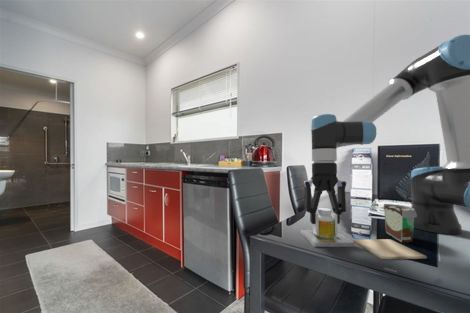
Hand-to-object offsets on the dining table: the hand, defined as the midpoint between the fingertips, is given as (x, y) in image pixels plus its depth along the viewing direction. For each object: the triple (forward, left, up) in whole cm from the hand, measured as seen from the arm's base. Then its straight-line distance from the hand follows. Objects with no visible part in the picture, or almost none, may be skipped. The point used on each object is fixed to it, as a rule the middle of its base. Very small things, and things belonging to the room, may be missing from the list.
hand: (325, 233), depth 66 cm
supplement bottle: (0, 0, -2) cm, 2 cm away
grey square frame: (0, 0, -2) cm, 2 cm away
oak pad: (-14, +8, -2) cm, 16 cm away
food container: (-27, -1, -2) cm, 27 cm away
